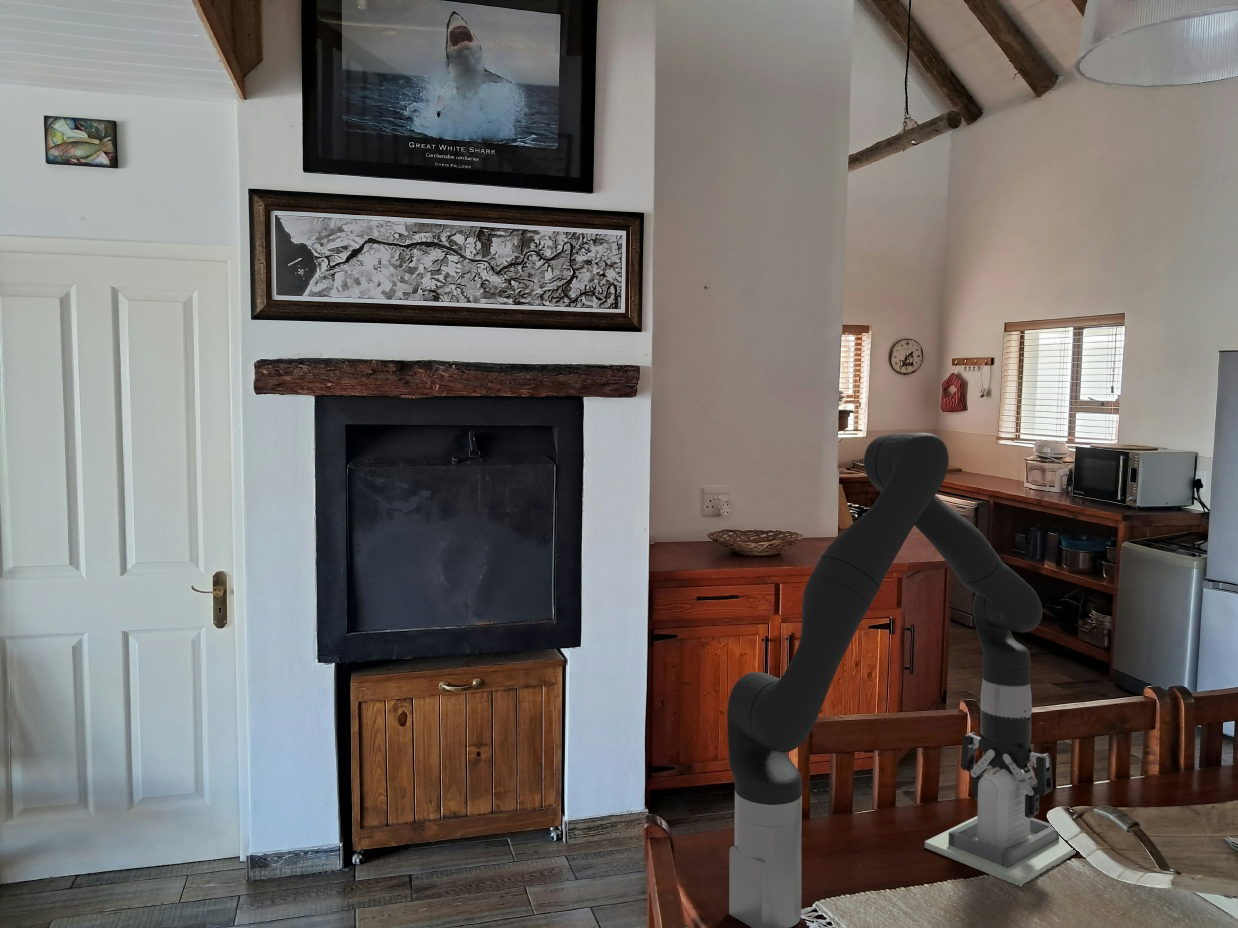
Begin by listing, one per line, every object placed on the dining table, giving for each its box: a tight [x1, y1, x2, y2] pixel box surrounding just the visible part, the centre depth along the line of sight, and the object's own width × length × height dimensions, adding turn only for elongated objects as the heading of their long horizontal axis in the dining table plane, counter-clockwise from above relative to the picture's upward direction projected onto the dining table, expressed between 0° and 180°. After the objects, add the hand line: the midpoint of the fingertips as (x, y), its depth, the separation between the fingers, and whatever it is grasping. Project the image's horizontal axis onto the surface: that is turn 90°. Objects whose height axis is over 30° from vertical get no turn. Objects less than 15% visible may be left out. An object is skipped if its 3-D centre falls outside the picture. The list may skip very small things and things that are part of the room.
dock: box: [924, 815, 1076, 888], centre depth 144 cm, size 20×16×3 cm
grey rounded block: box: [977, 767, 1030, 850], centre depth 144 cm, size 10×4×12 cm, turn 124°
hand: (1004, 807), depth 144 cm, fingers open, 8 cm apart
